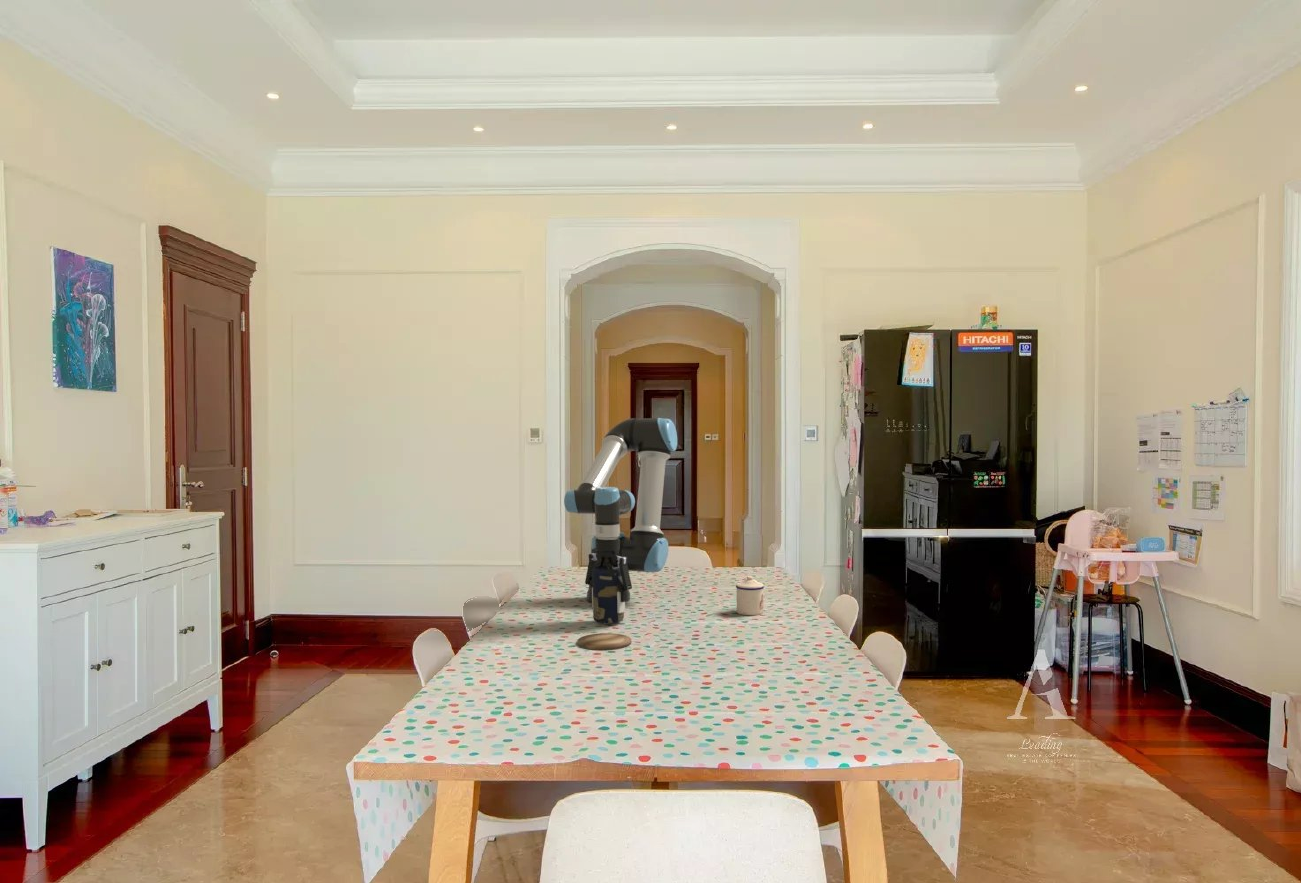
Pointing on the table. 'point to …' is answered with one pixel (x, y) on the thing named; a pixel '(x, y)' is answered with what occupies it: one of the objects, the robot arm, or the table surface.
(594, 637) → the brown plate
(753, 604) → the teacup with lid
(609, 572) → the canister
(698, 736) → the table surface
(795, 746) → the table surface
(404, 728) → the table surface
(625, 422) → the robot arm
